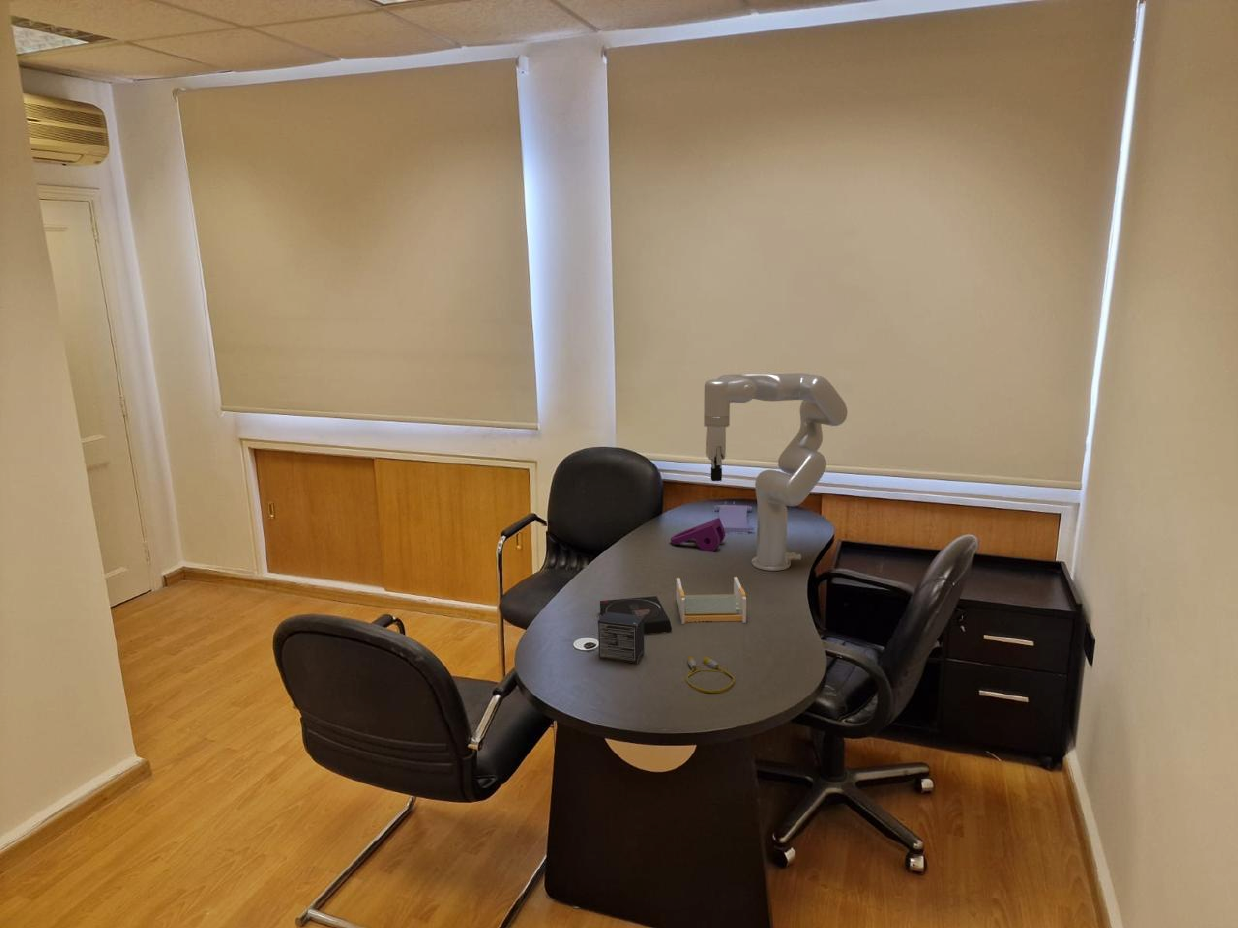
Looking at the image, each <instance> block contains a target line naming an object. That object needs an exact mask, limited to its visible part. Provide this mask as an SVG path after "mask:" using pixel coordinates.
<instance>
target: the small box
mask: <svg viewBox="0 0 1238 928" xmlns="http://www.w3.org/2000/svg"><path fill="white" fill-rule="evenodd" d="M597 627H598V629H597V630H598V637H597V638H598V659H599V660H605V661H614V662H620V663H628V664H636V665H638V664H639V662H640V661H641V659H642V658H643V657H644V655H645V635H644V616H638V615H630V614H622V613H613V612H605V613H604V614H603V615H602V616H601V615H600V617H599V619H598V620H597Z"/></svg>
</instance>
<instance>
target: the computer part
mask: <svg viewBox="0 0 1238 928" xmlns="http://www.w3.org/2000/svg"><path fill="white" fill-rule="evenodd" d="M732 503H733V505H731V504H730V505H729V504H727V501H726V500H725V501H724V504H723V505H722V504H720V505H714V509H715V510H719V511H718V515H719V516H718V518H719V519H720V521H721V523H722V525H723V527H724V530H725V534H730V532H731V533H732V532H735V533H736V532H738V533H740V532H741V533H743V532H745V533H748V534H749V531H755V526H753V525H749V521H748V511H752V510H753V506H751V505H736V502H735V501H733V502H732Z"/></svg>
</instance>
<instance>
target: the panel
mask: <svg viewBox="0 0 1238 928" xmlns="http://www.w3.org/2000/svg"><path fill="white" fill-rule="evenodd" d="M684 597H685V616H700V615H737V614H736V596H735V594H734V593H732V594H731V593H730V594H727V593H726V594H723V593H721V594H684Z"/></svg>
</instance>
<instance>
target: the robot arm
mask: <svg viewBox="0 0 1238 928" xmlns="http://www.w3.org/2000/svg"><path fill="white" fill-rule="evenodd" d="M752 400H757V401H763V402H785V401H792V402H793V401H801V402H800V406H799V420H800V422H799V423H800V427H799V429H798V432H797V434H796V435H794V438H793V439H792V440H791V441H790V443H788V445H787V446H786V448H784V450H783V451H782V452H781V454H780V455H779V457H778V459H777V460H778V461H777V466H778V468H779V469H780V470H781V471H780V470H775V469H766V470H762V471H761V472H760V473H758V475H757V477H756V478H755V484H754V487H755V488H754V489H755V494H756V500H757V526H756V527H757V531H756V536H757V537H756V556H754V557H753V558H752V559H751V565H752V566H753V567H754V568H756V569H759V570H763V571H770V572H776V571H777V572H778V571H784V570H788V569H789V568H790V567H791V565H792V563H791V561H801V560H802V554H801V553H796V552H795V551H794V552H793V551H791V552H788V550H787V548H788V547H787V546H788V545H787V543H788V542H787V541H788V540H787V539H788V521H789V520H788V517H789V516H788V508H787V506H788V507H796V506H798V505H800V504H802V503H803V502H804V501H805V500H806V499H807V497H808V496H809V494H810V493H811V492H812V491H813V489H814V488H815V487H816V486H817V484H818V483H819V482H820V481H821V479H822V478H823V476H824V475H825V472H826V467H827V462H826V457H825V456H824V454H822V453H821V452H820V451H819V449H820V448H821V446H822V445H823V440H824V435H823V428H822V427H823V426H822V425H825V426H829V427H837V426H838V427H839V426H840V425H842V424H844V422H845V421H846V420H847V418H848V407H847V404H846V402H845V401H844V399H843V398H842V397H841V396H840V394H839V393H838V391H837V390H836V389H835V387H834V386H833V385H832V384H831V382H829V380H827V378H825V377H824V376H822V375H817V374H816V375H815V374H809V373H801V372H800V373H799V372H798V373H797V372H796V373H759V374H758V373H757V374H756V373H755V374H754V373H753V374H751V373H750V374H749V373H747V374H745V373H744V374H743V373H742V374H741V373H740V374H739V373H738V374H736V373H735V374H723V375H720V376H719V377H718V378H716V379H715V378H712V379H709V380H706V382H705V383H704V405H703V406H704V409H703V410H704V411H703V412H704V415H703V416H704V417H703V418H704V419H703V420H704V423H703V426H704V427H706V440H705V442H706V443H705V455H706V457H707V459H708V460H709V461H710V481H711V482H722V480H723V479H722V478H723V467H722V465H723V461H724V460H725V459H726V450H727V449H726V447H727V446H726V444H727V428H729V427H730V421H731V418H730V415H731V406H730V405H731V404H733V403H734V404H746V403H749V402H750V401H752Z"/></svg>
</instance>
